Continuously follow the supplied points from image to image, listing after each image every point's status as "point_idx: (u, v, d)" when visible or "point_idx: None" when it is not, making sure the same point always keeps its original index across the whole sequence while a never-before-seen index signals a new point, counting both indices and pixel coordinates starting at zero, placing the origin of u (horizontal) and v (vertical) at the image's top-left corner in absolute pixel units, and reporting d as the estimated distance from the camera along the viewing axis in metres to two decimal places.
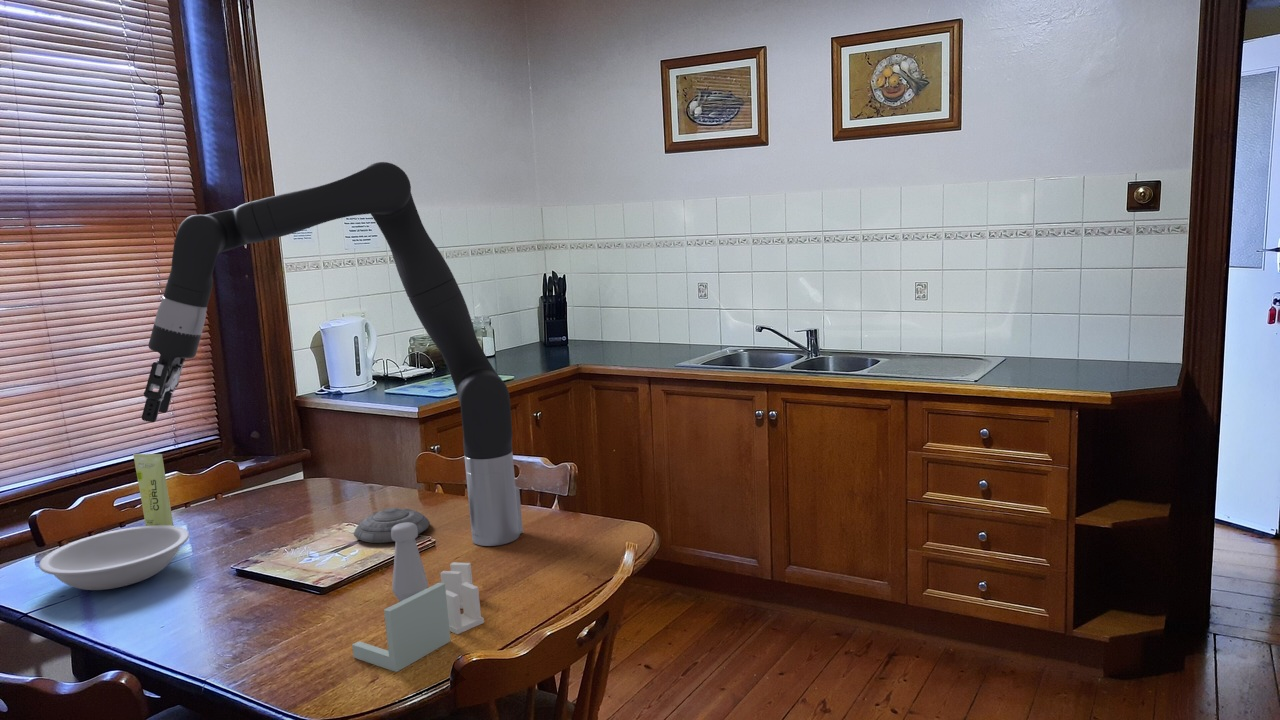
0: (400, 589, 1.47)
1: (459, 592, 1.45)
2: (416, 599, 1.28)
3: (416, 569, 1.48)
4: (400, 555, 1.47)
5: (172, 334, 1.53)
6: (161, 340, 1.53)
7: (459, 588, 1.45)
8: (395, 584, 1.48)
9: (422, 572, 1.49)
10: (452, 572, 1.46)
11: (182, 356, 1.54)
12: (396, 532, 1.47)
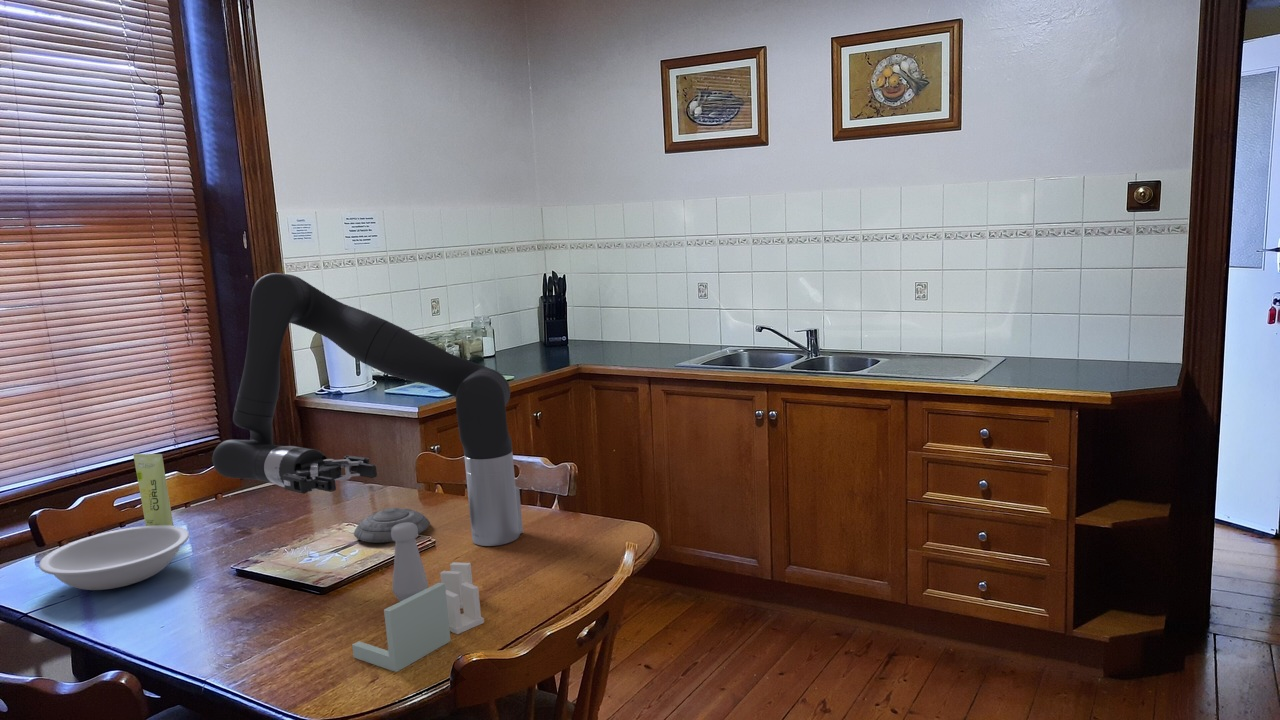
0: (400, 589, 1.47)
1: (459, 592, 1.45)
2: (416, 599, 1.28)
3: (416, 569, 1.48)
4: (400, 555, 1.47)
5: (281, 473, 1.59)
6: None
7: (459, 588, 1.45)
8: (395, 584, 1.48)
9: (422, 572, 1.49)
10: (452, 572, 1.46)
11: (295, 462, 1.57)
12: (396, 532, 1.47)
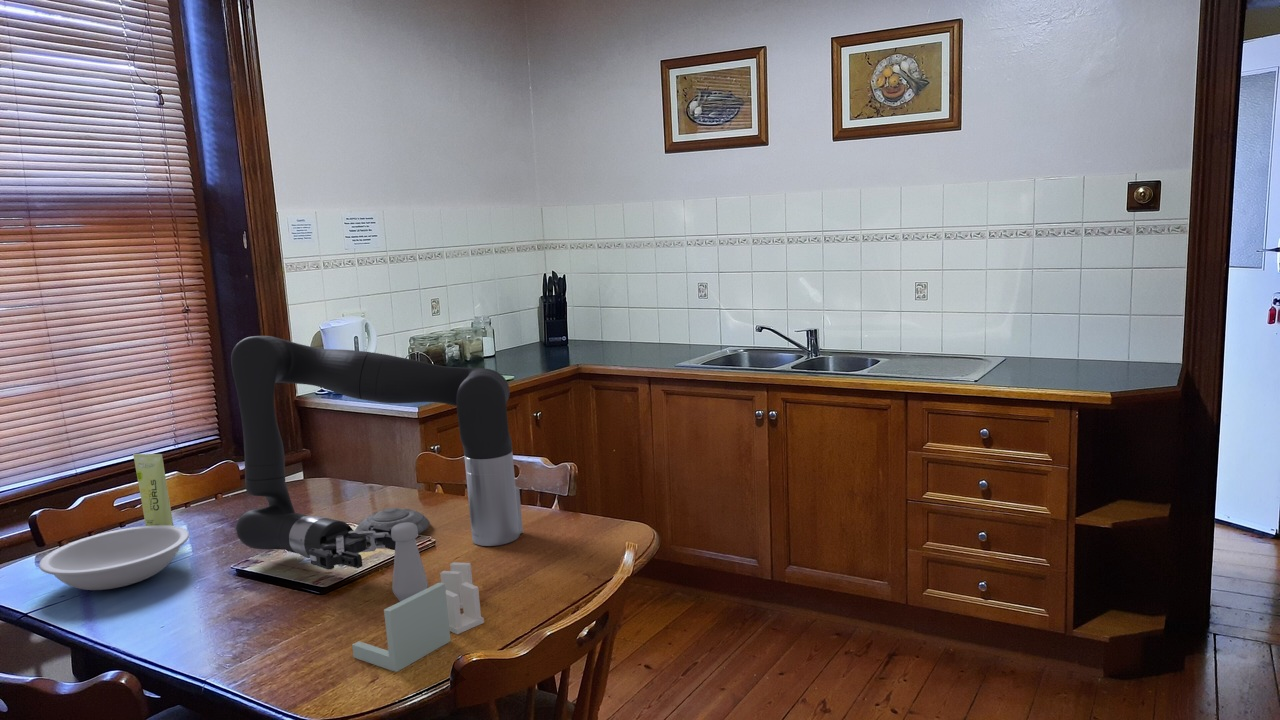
0: (400, 589, 1.47)
1: (459, 592, 1.45)
2: (416, 599, 1.28)
3: (416, 569, 1.48)
4: (400, 555, 1.47)
5: (306, 546, 1.58)
6: None
7: (459, 588, 1.45)
8: (395, 584, 1.48)
9: (422, 572, 1.49)
10: (452, 572, 1.46)
11: (321, 535, 1.57)
12: (396, 532, 1.47)
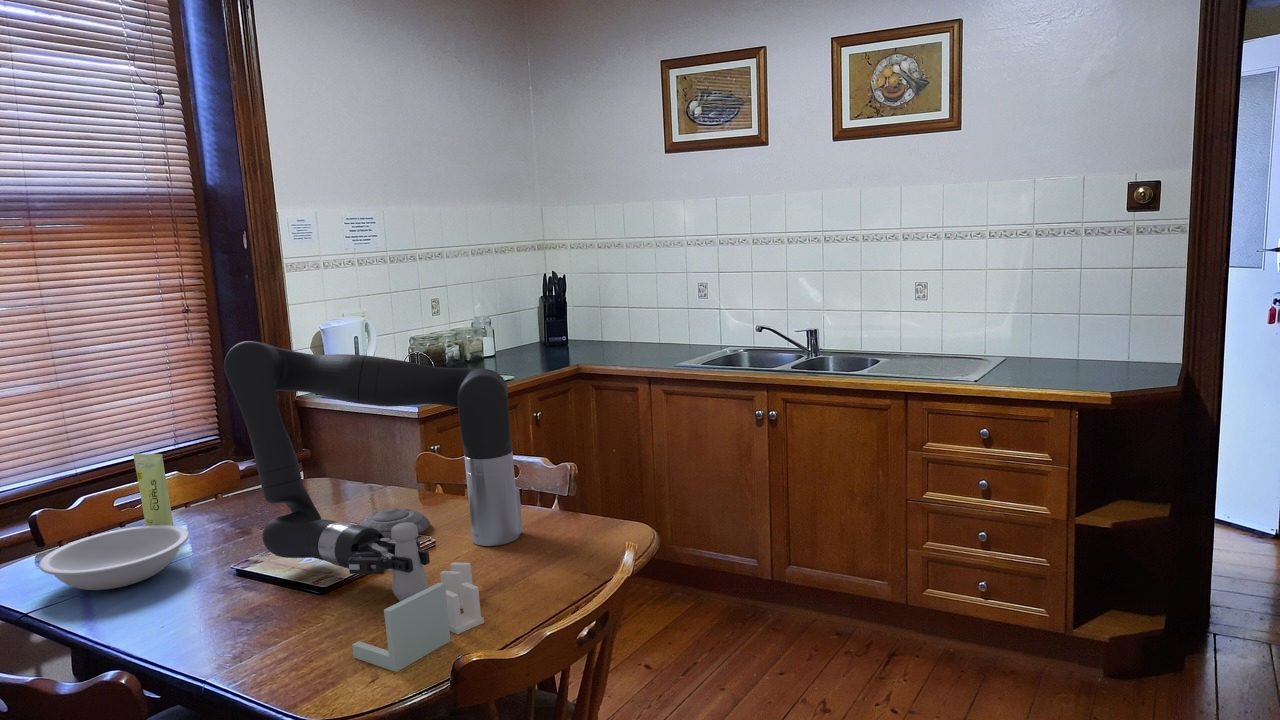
0: (400, 589, 1.47)
1: (459, 592, 1.45)
2: (416, 599, 1.28)
3: (416, 569, 1.48)
4: (400, 555, 1.47)
5: (336, 554, 1.54)
6: (344, 562, 1.53)
7: (459, 588, 1.45)
8: (395, 584, 1.48)
9: (422, 572, 1.49)
10: (452, 572, 1.46)
11: (352, 542, 1.52)
12: (396, 532, 1.47)
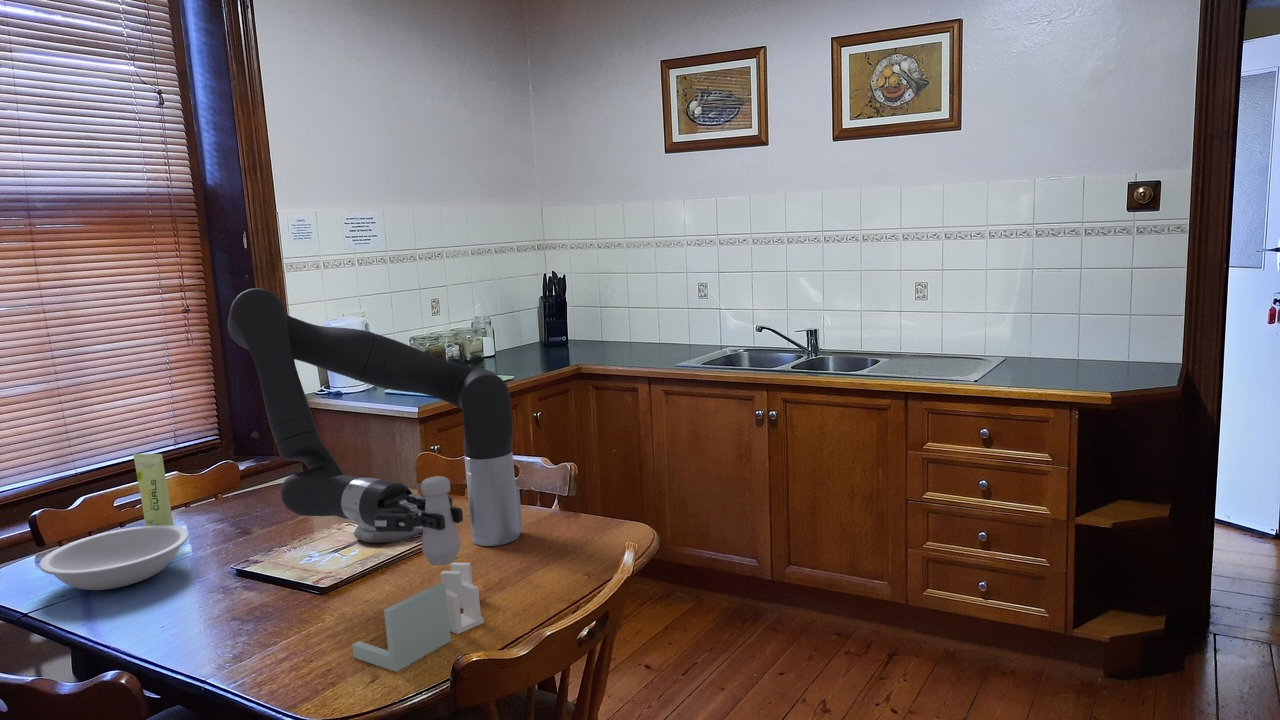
0: (431, 548, 1.35)
1: (459, 592, 1.45)
2: (416, 599, 1.28)
3: (448, 527, 1.35)
4: (431, 511, 1.35)
5: (361, 510, 1.41)
6: (370, 520, 1.41)
7: (459, 588, 1.45)
8: (425, 542, 1.35)
9: (454, 530, 1.36)
10: (452, 572, 1.46)
11: (378, 498, 1.40)
12: (427, 486, 1.34)
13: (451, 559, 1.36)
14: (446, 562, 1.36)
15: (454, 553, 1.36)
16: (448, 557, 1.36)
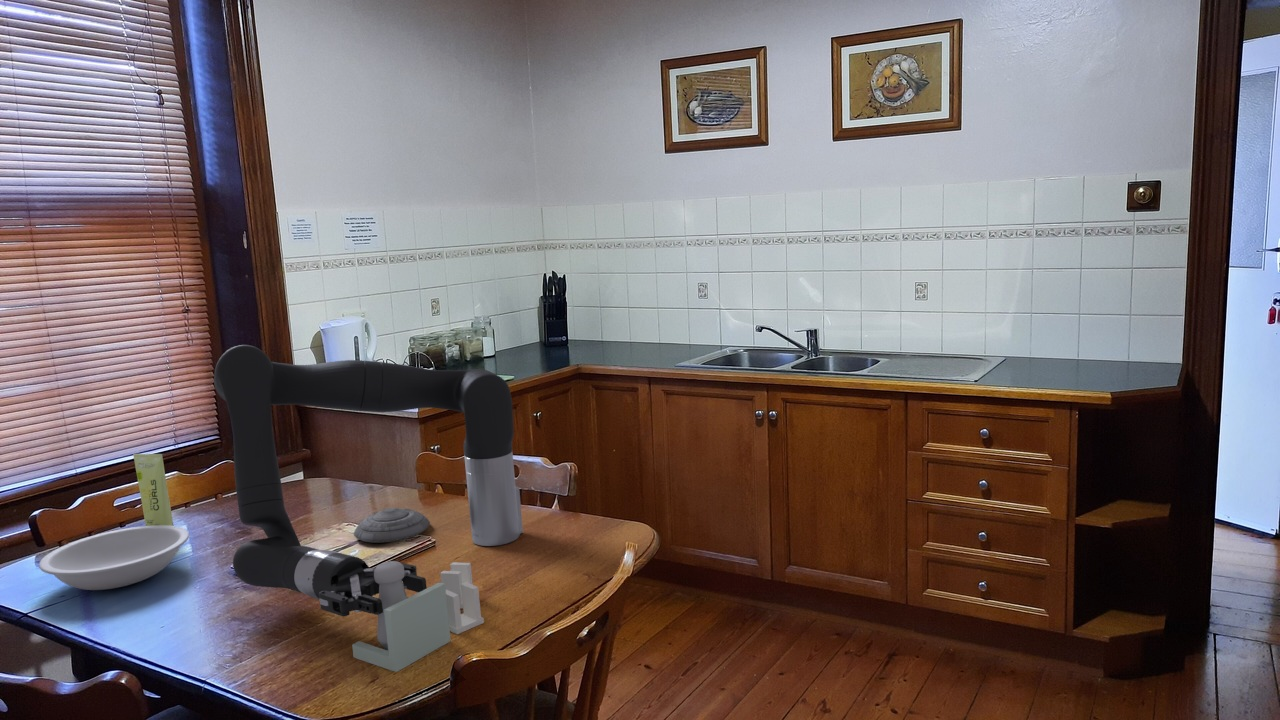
0: (386, 637, 1.30)
1: (459, 592, 1.45)
2: (416, 599, 1.28)
3: None
4: (384, 599, 1.30)
5: (314, 586, 1.36)
6: None
7: (459, 588, 1.45)
8: (380, 631, 1.30)
9: None
10: (452, 572, 1.46)
11: (332, 574, 1.35)
12: (380, 574, 1.29)
13: None
14: None
15: None
16: None
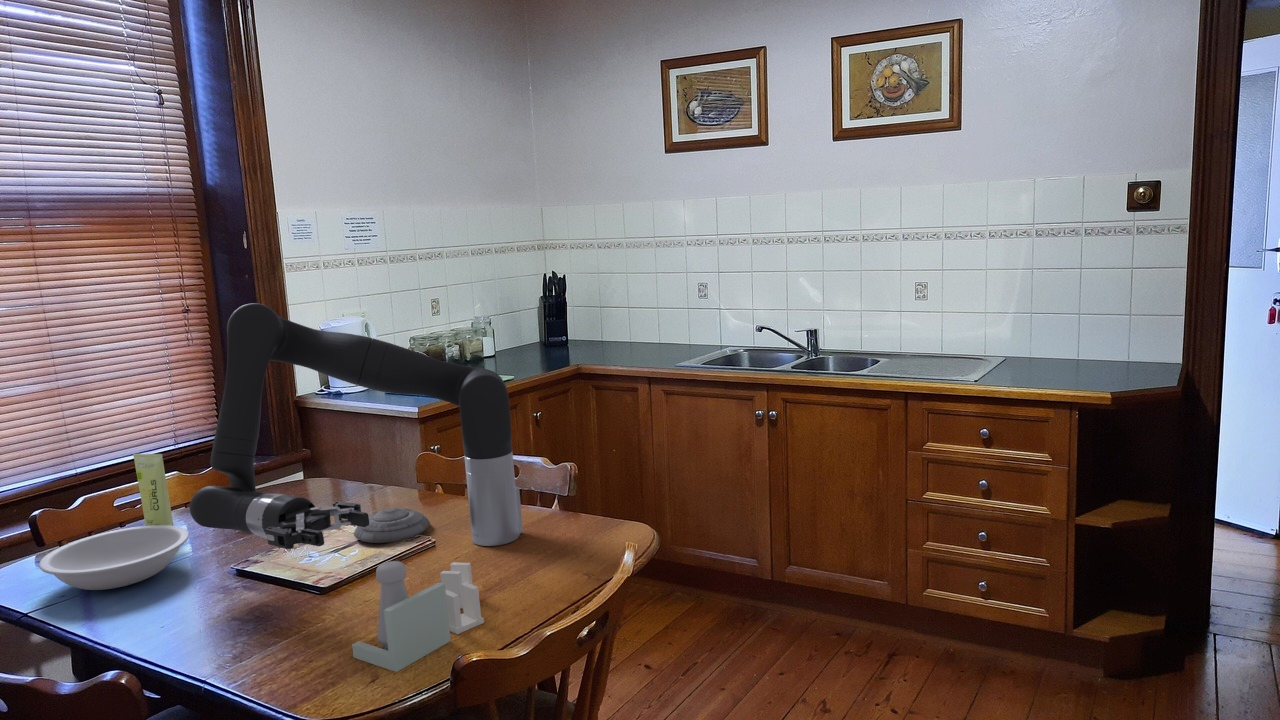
0: (386, 637, 1.30)
1: (459, 592, 1.45)
2: (416, 599, 1.28)
3: None
4: (386, 599, 1.30)
5: (264, 525, 1.45)
6: None
7: (459, 588, 1.45)
8: (381, 631, 1.30)
9: None
10: (452, 572, 1.46)
11: (279, 513, 1.43)
12: (382, 574, 1.29)
13: None
14: None
15: None
16: None
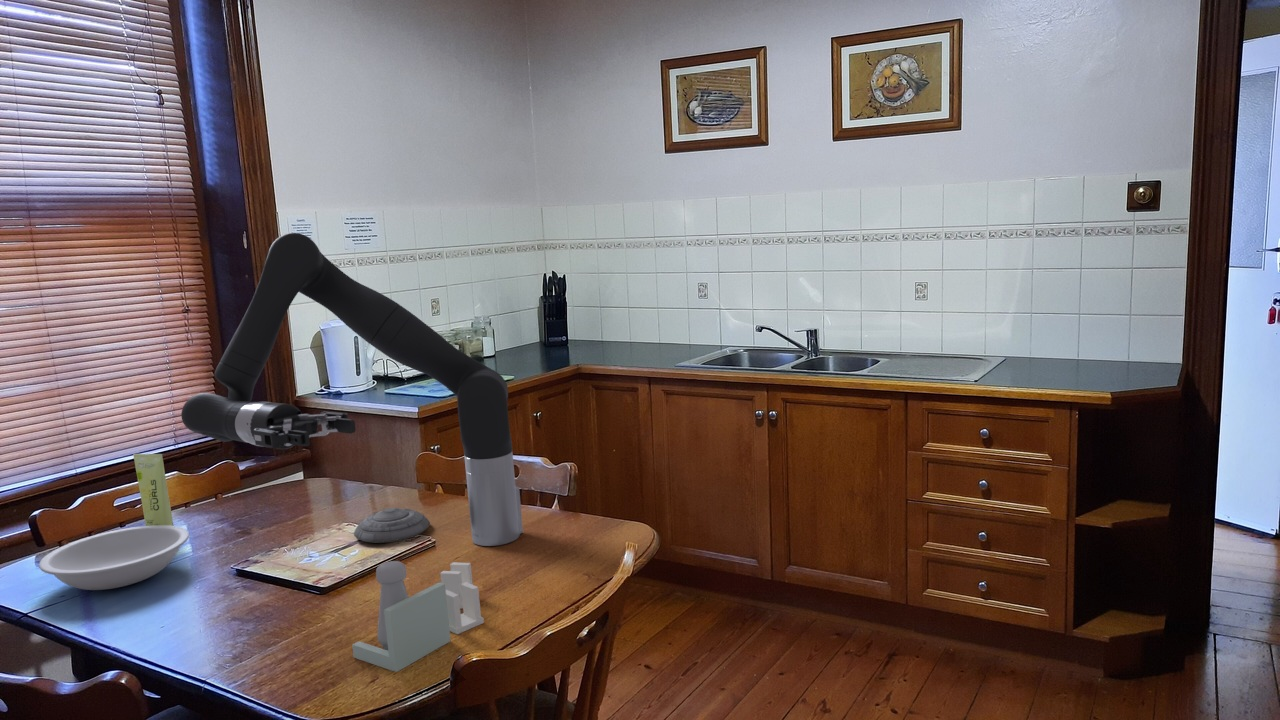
0: (386, 637, 1.30)
1: (459, 592, 1.45)
2: (416, 599, 1.28)
3: None
4: (386, 599, 1.30)
5: (252, 430, 1.47)
6: None
7: (459, 588, 1.45)
8: (381, 631, 1.30)
9: None
10: (452, 572, 1.46)
11: (267, 417, 1.46)
12: (382, 574, 1.29)
13: None
14: None
15: None
16: None
